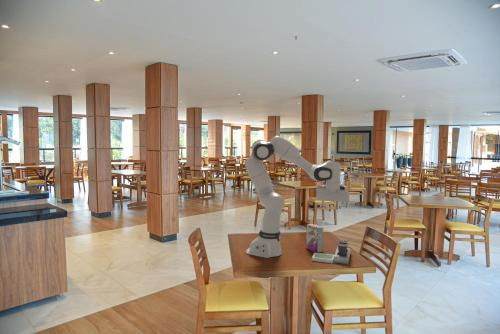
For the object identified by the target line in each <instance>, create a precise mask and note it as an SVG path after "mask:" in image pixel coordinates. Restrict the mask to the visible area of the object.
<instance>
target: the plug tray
mask: <svg viewBox="0 0 500 334" xmlns="http://www.w3.org/2000/svg"><path fill="white" fill-rule="evenodd" d="M334 256H335V254H331V253H322V252H314V253H313V255H312V257H311V260H312V262H319V263H325V264H326V263H328V264H333V263H334Z"/></svg>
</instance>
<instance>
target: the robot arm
mask: <svg viewBox="0 0 500 334" xmlns="http://www.w3.org/2000/svg"><path fill="white" fill-rule="evenodd" d="M250 153H251V154H250V155H251V156H250V157H248V158H247V159H246V160H245V162H244V166H245V168H246V171H247V175H248V176H249V179H250V180H251V183H252V184H253V187H254V189H255V192H256V194H257V197H258V200H259V203H260V204H261V205H262V207H264V213H263V216H262V219H261V222H262V223H261V229H260V230H259V232H258V236H257V237H256V238H254V239H253V240H252V241H251V243H250V245H249V247H248V248H247V249H246V250H245V251H246V252H245V253H246V255H251V256H255V257H261V258H267V259H269V258H272V257H279V256H282V255H283V253H282V248H281V236H282V235H281V229H280V228H281V227H280V226H281V217H282V213H283V209H284V208H285V203H286V202H285V199H284V198H283V196H282V195H281V194H279V193H277V192H276V191H275V190H274V187H273V184H272V178H270V174H269V173H268V171H267V169H266V167H265V165H264V161H266V160H268V159H269V158H270V157H271V156H273V155H276V156H278V157H279V158H281V159H282V160H283V161H286V162H288V163H290V164H293V165H295V166H297V167H299V169H301V170H302V171H304V173H305V174H306V175H307V177H308V178H309V179H310V180H312V181H317V182H325V185H317V186H316V188H315V192H316V196H315V199H316V200H317V201H319V202H320V201H321V204H322V206H323V209H326V208H327V204H325V202H338V203H340V205H339V206H338V209H339V210H342V207H343V205H344V203H350V202H349V201H350V192H349V190H348V186H347V185H345V184H342V183H341V179H340V178H341V176H342V175H341V173H342V171H341V169H342V168H341V164H340V162H339V161H336V160H331V159H329V160H327V161H326V162H324V163H322V164H320V165H319V164H315V163H311V162H310V161H308V160H306V159H305V158H304V157H303V156H302V155H301V153H300V149H299V148H298V147H297V146H296V145H295V144H294V143H292V142H290V140H288V139H285V138H284V137H281V136H279V135H274V136H273V137H272V138H271V139H270V140H269V141H265V140H263V139H258V140H256V141H254V142H253V144H252V145H251V152H250Z"/></svg>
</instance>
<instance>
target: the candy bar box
mask: <svg viewBox="0 0 500 334" xmlns="http://www.w3.org/2000/svg"><path fill="white" fill-rule="evenodd" d="M305 233H306V235H305V236H306V240H305V241H306V242H305V243H306V244H305V248H306V249H308V250H310V251H312V252H314V253H322V252H323V248H324V244H323V243H324V242H323V241H324V227H323V226H320V225H317V224H313V223H308V224H306V232H305Z"/></svg>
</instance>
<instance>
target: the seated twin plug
mask: <svg viewBox="0 0 500 334" xmlns="http://www.w3.org/2000/svg"><path fill="white" fill-rule="evenodd" d="M348 242H349V241H348V240H341V239H339V240H338V245H339V244H347V245H348ZM346 252H347V250H346Z"/></svg>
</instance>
